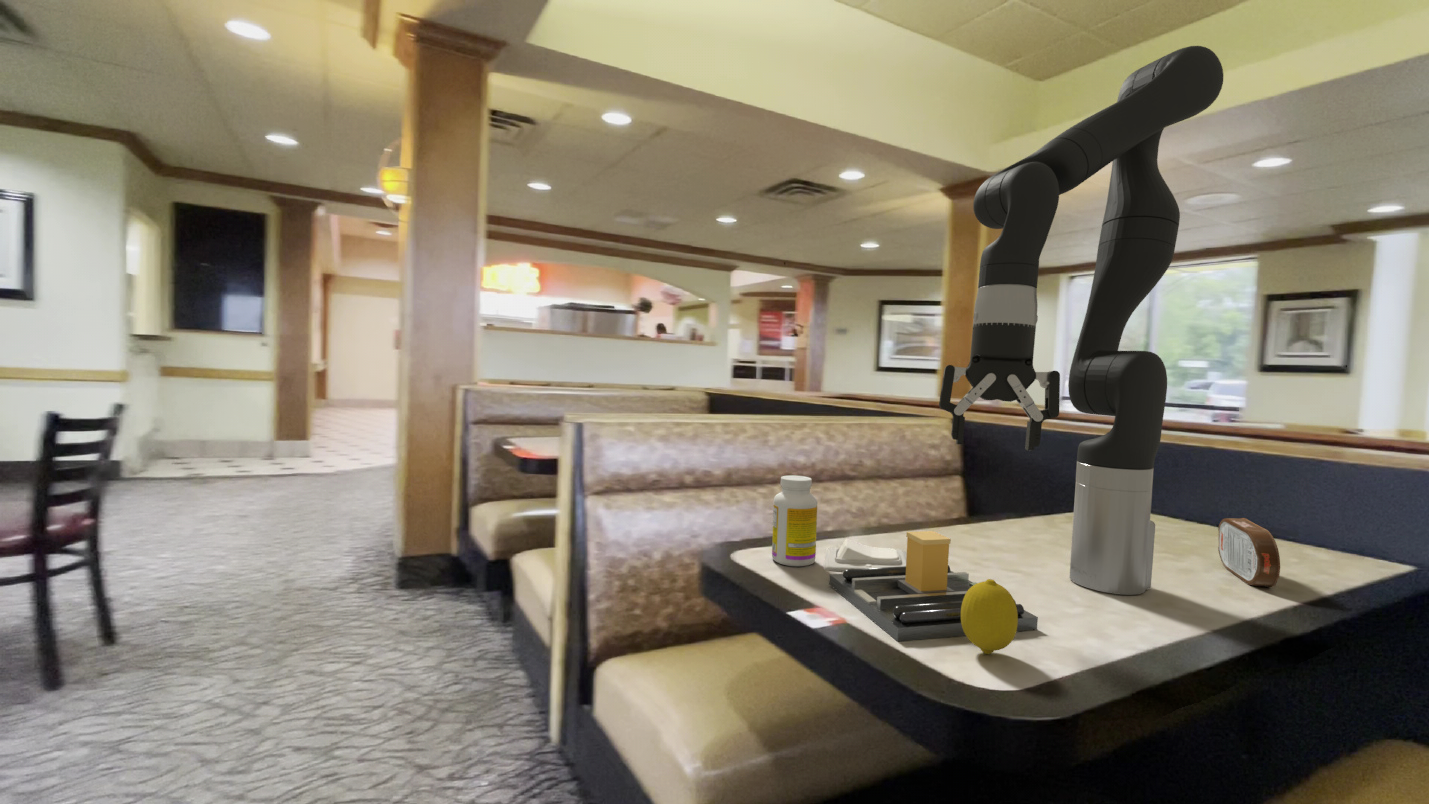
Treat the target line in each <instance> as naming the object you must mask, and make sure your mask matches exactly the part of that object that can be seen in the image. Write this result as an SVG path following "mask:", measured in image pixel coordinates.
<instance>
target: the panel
mask: <svg viewBox="0 0 1429 804" xmlns="http://www.w3.org/2000/svg"><path fill="white" fill-rule="evenodd" d="M969 575H970V574H969V573H968V572H966V571H960V572H955V571H952V570H951V567H950V565H949V564H948V576H947V587H949V588H950V589H952V590H954V591H955V592H944V593H928V594H912V595H910V594H909V593H907V592H906V591H904V590H903V589H901V588H900V587H898V580H905V578H906V566H901V567H882V568H863V569H846V570H844V572H842V573H830V574H829V578H828V579H829V580H828V581H829V584H828V585H829V586H830V588H832V589H834V591H836V592H837V593H838V594H839V595H841V596H842V597H843V598H844V599H846V600H847V601H848V602H849V603H850V604H851V605H852V606H854V607H856V609H858V610H859V611H860V612H861V613H863V615H865V616H866V618H868V619H870V620H871V621H872V620H873V621H874V622H873V621H872V622H873V623H875V625H877V626H878V627H879V626H880V627H879V628H880V629H882V630H883V631H884V632H886V634H887V635H890V636H891V638H893V639H894V640H895V641H896V642H904V641H905V642H907V641H917V640H928V639H929V640H930V639H942V638H955V637H967V636H966V635H965V633H964V631H963V628H962V624H961V606H962V602H963V599H964V596H965V594H966V592H967V591H968V590H969V589H970V588H971V587H972V586H973V585H975V584H977V582H973V581H971V580H969ZM1014 601H1015V604H1016V608H1017V614H1018V625H1017V631H1016V633H1017V632H1025V631H1024V630H1029V631H1034V630H1033V629H1037V630H1038V623H1039V622H1038V621H1039V618H1038V616H1036V615H1035V614H1032V613H1031V612H1029V611H1027V610H1026V609H1025V608H1024V606H1023V605H1022V604H1020V603H1016V600H1015V599H1014Z"/></svg>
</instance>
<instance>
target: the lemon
mask: <svg viewBox="0 0 1429 804" xmlns="http://www.w3.org/2000/svg"><path fill="white" fill-rule="evenodd" d="M976 583H977V582H976ZM1014 600H1015V599H1014V597H1013V595H1012V594H1011V593H1010V591H1009V590H1007V588H1005V587H1004V586H1003V585H1001V584H1000V583H996V581H995V579H991V578H988V579H986V580H985V581H981V582H978V583H977V584H975V585H973V586H972V587H971V588H970V589H969V590H968V591H967V592H966V594H965V596H964V599H963V602H962V606H961V624H962V628H963V631H964V633H965V635H966V636H965V637H966V638H967V639H968V640H969V642H970V643H972V644H973V645H974V646H975V647H977V648H979V649H980V651H982V652H983V654H985V655H991V654H992V653H994V652H995V651H1001V650H1003V649H1005V648H1006V647H1008V646H1009V645H1010V644H1011V643H1012V641H1013V640H1014V639H1015V636H1016V635H1017V632H1018V631H1017V625H1018V614H1017V608H1016V604H1017V603H1016V604H1015V602H1016V600H1015V601H1014ZM1016 631H1017V632H1016Z"/></svg>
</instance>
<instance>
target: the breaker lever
mask: <svg viewBox="0 0 1429 804" xmlns="http://www.w3.org/2000/svg"><path fill="white" fill-rule="evenodd" d="M906 538H907V540H906V553H907V558H906V578H905V580H898V587H900V588H901V589H903V590H904V591H906V592H907V593H909V594H910V595H912V594H928V593H944V592H955V591H954V590H952V589H950V588H949V587H947V576H948V565H949V558H950V557H949V554H950V544H951V538H950V537H947V536H945V535H942V534H941V533H939V532H937V531H934V530H930V531H929V530H926V531H925V530H924V531H923V530H922V531H906Z"/></svg>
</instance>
